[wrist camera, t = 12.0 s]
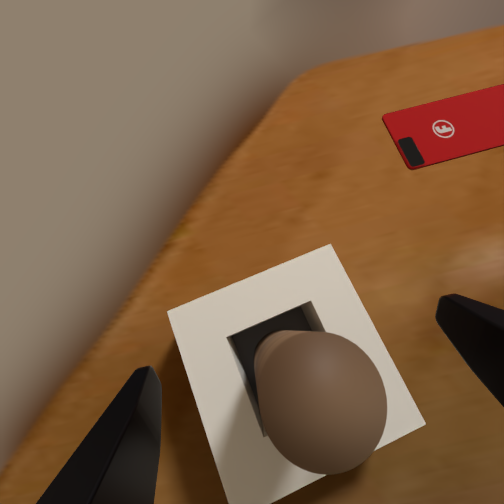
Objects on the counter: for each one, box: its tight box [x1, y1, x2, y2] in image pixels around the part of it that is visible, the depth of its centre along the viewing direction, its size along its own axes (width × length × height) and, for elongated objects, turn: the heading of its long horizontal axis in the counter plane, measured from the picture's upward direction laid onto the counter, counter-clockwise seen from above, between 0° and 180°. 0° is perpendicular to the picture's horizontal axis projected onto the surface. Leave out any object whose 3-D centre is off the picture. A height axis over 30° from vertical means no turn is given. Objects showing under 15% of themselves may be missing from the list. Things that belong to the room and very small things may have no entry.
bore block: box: [167, 244, 426, 504], centre depth 16 cm, size 10×10×4 cm
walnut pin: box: [253, 330, 387, 475], centre depth 12 cm, size 4×4×10 cm
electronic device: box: [382, 84, 504, 169], centre depth 24 cm, size 6×1×15 cm
